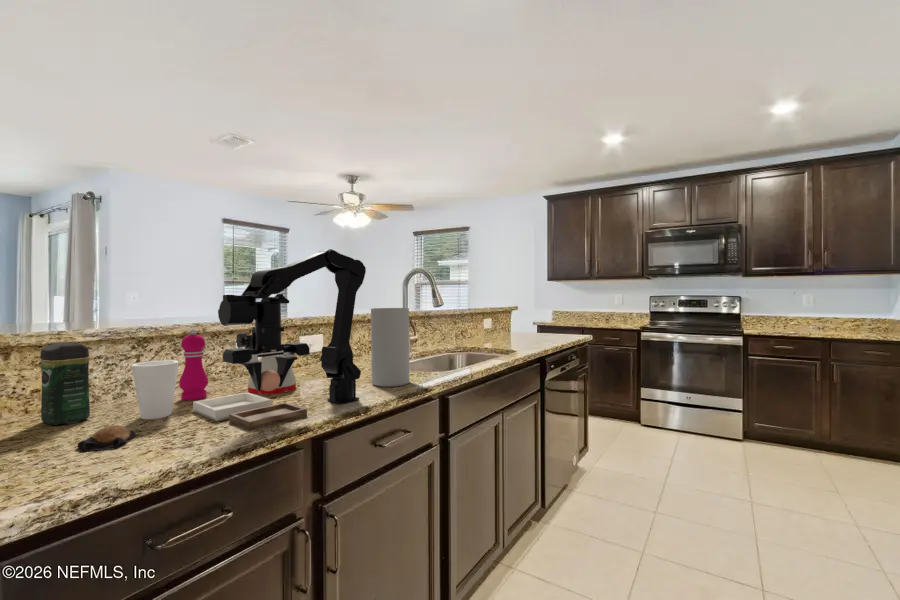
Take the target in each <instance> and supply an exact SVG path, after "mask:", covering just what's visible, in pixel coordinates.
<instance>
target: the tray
mask: <svg viewBox="0 0 900 600" xmlns="http://www.w3.org/2000/svg"><path fill="white" fill-rule="evenodd" d="M304 417H305V418H306V417H308V409H307V408H305V407H303V406H302V407H301V406H299V405H295V404H292V403H289V402H282V403H277V404H271V406H266V407H262V408H257V409H252V410H247V411H243V412H238V413H233V414H229V418H228V419H229V421H228V422H229V423H231V424H234V425H236V426H238V427H241V428H243V429H245V430H247V431H252V430H256V429H261V428H264V427H268V426H273V425H277V424H281V423H286V422H289V421H293V420H298V419H301V418H304Z"/></svg>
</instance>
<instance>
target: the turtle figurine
mask: <svg viewBox="0 0 900 600" xmlns="http://www.w3.org/2000/svg"><path fill="white" fill-rule="evenodd" d="M136 433H137V432H135V431H134V430H130V429H128V428H127V427H125V426H122V425H118V424H117V425H116V424H115V425H108V426H105V427H103V428H100V429H98V430H97V431H96V432H94V433H93V434H92V435H90V437H89V438H86V439H85V440H81V441H79V442H78V443H77V448H78V453H80V454H81V453H82V454H83V453H93V452H94V453H95V452H103V451H104V452H105V451H110V450H111V451H112V450H117V449H119V448H123V447H124V446H125V447H126V445H127V444H128V443H130V442H131V441H132V439H134V438H135V437H136Z"/></svg>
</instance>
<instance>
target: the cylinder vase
mask: <svg viewBox="0 0 900 600" xmlns="http://www.w3.org/2000/svg"><path fill="white" fill-rule="evenodd" d="M370 337H371V338H370V339H371V340H370V343H371V344H370V345H371V347H370V348H371V350H370V351H371V352H370V353H371V356H370V359H371V360H370V361H371V364H370V365H371V366H370V367H371V371H370V372H371V384H372V385H373V386H375V387H381V388H382V387H383V388H393V387H395V388H397V387H402V386H406V385H408V384H409V383H410V308H408V307H378V308H377V307H376V308H375V307H374V308H370Z"/></svg>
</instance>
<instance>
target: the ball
mask: <svg viewBox="0 0 900 600" xmlns="http://www.w3.org/2000/svg"><path fill="white" fill-rule="evenodd" d="M279 384H280V376H279V374H278V373H277V372H276V371H273V370H266V371H264V372H262V373H261V389H262V390H264V391H272V390H274V389H276V388H277V387H278V386H279Z"/></svg>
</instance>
